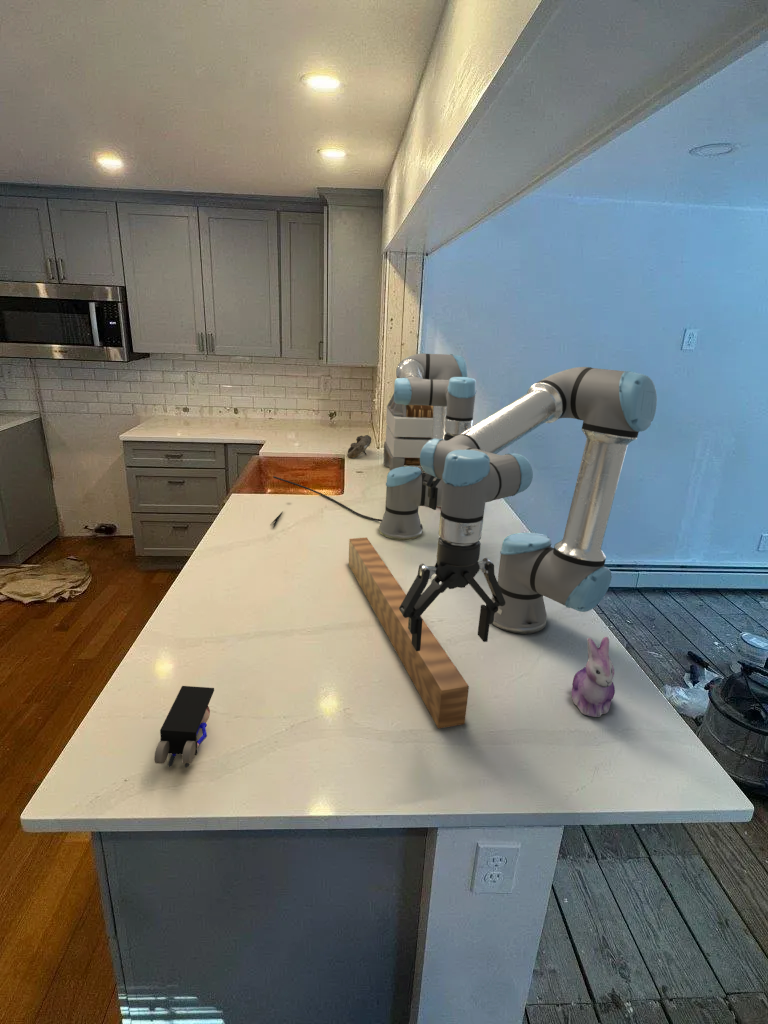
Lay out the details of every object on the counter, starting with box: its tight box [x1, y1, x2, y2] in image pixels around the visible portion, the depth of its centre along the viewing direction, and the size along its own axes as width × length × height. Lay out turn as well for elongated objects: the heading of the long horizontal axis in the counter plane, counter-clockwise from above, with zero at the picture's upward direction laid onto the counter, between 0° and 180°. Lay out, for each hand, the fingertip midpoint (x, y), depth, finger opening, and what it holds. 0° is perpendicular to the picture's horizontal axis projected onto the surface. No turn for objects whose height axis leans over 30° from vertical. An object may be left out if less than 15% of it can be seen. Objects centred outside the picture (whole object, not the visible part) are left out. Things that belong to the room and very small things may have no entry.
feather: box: [270, 512, 283, 529], centre depth 212 cm, size 2×28×2 cm
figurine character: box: [153, 685, 215, 768], centre depth 100 cm, size 7×8×15 cm
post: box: [348, 537, 470, 729], centre depth 140 cm, size 74×6×9 cm, turn 17°
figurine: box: [570, 636, 616, 718], centre depth 114 cm, size 9×10×15 cm
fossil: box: [347, 434, 372, 459], centre depth 303 cm, size 22×10×15 cm
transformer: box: [383, 393, 433, 472], centre depth 268 cm, size 34×33×41 cm
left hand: (451, 505), depth 166 cm, fingers open, 13 cm apart
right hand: (449, 642), depth 107 cm, fingers open, 13 cm apart
